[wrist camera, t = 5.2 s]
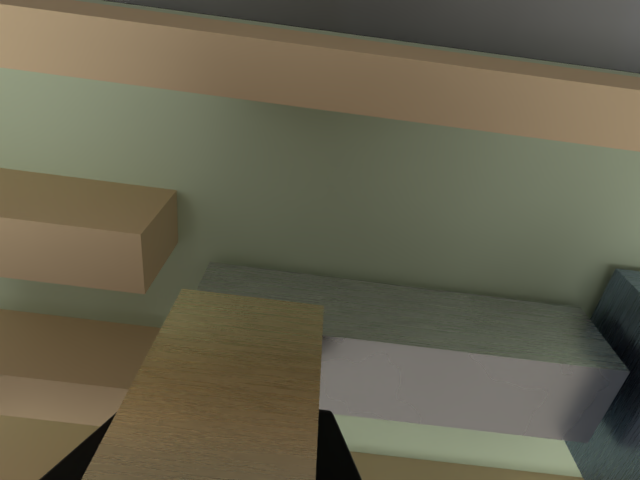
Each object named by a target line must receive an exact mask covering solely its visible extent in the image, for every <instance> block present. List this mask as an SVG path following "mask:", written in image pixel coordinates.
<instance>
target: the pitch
mask: <svg viewBox="0 0 640 480" xmlns="http://www.w3.org/2000/svg"><path fill="white" fill-rule="evenodd" d="M209 262H215V263H223V264H231V265H239V266H248V267H256V268H264V269H272V270H280V271H288V272H297V273H305V274H313V275H321V276H329V277H337V278H346V279H354V280H362V281H370V282H378V283H386V284H395V285H403V286H411V287H419V288H427V289H435V290H444V291H452V292H460V293H468V294H476V295H484V296H493V297H501V298H509V299H517V300H525V301H533V302H542V303H550V304H558V305H566V306H574V307H581V308H582V310H583V311H584V312H585V314H586V315H587V316H588V318H589V319H590V318H591V316H592V314H593V312H594V310H595V308H596V307H597V305H598V303H599V301H600V299H601V297H602V295H603V293H604V291H605V289H606V287H607V285H608V283H609V281H610V279H611V277H612V275H613V273H614V271H615V269H616V268H617V269H625V270H633V271H640V74H639V73H632V72H624V71H617V70H610V69H602V68H595V67H588V66H580V65H573V64H566V63H558V62H551V61H543V60H536V59H529V58H521V57H514V56H507V55H499V54H492V53H485V52H477V51H470V50H463V49H455V48H448V47H441V46H433V45H426V44H419V43H411V42H404V41H397V40H389V39H382V38H375V37H367V36H360V35H353V34H345V33H338V32H331V31H323V30H316V29H309V28H301V27H294V26H287V25H279V24H272V23H265V22H257V21H250V20H243V19H235V18H228V17H221V16H213V15H206V14H198V13H191V12H184V11H176V10H169V9H162V8H154V7H147V6H140V5H132V4H125V3H118V2H110V1H103V0H0V480H39V479H40V478H41V477H43V476H44V475H45V474H46V473H47V472H48V471H50V470H51V469H52V468H53V467H54V466H55V465H56V464H58V463H59V462H60V461H61V460H62V459H63V458H64V457H66V456H67V455H68V454H69V453H70V452H71V451H73V450H74V449H75V448H76V447H77V446H78V445H79V444H81V443H82V442H83V441H84V440H85V439H86V438H87V437H89V436H90V435H91V434H92V433H93V432H94V431H96V430H97V429H98V428H99V427H100V426H101V425H102V424H104V423H105V422H106V421H107V420H108V419H109V418H110V417H112V416H113V415H114V414H115V413H116V412H117V411H118V409H119V407H120V405H121V403H122V401H123V399H124V398H125V396H126V394H127V392H128V390H129V388H130V386H131V384H132V382H133V380H134V379H135V377H136V375H137V373H138V371H139V369H140V367H141V365H142V363H143V361H144V360H145V358H146V356H147V354H148V352H149V350H150V348H151V346H152V344H153V342H154V341H155V339H156V337H157V335H158V333H159V331H160V329H161V327H162V325H163V324H164V322H165V320H166V318H167V316H168V314H169V312H170V310H171V308H172V306H173V305H174V303H175V301H176V299H177V297H178V295H179V293H180V291H181V289H190V290H197V288H198V286H199V283H200V281H201V279H202V277H203V275H204V273H205V271H206V269H207V267H208V265H209ZM334 417H335V419H336V421H337V423H338V426H339V428H340V430H341V433H342V435H343V437H344V439H345V442H346V444H347V446H348V449H349V451H350V453H351V455H352V458H353V460H354V462H355V465H356V467H357V469H358V471H359V474H360V476H361V478H362V480H584V479H583V477H582V475H581V473H580V471H579V469H578V467H577V465H576V463H575V461H574V459H573V457H572V455H571V453H570V451H569V449H568V447H567V445H566V443H565V441H564V440H556V439H547V438H538V437H529V436H521V435H512V434H503V433H495V432H486V431H477V430H468V429H460V428H451V427H442V426H433V425H425V424H416V423H407V422H399V421H390V420H381V419H372V418H364V417H355V416H346V415H338V414H334Z"/></svg>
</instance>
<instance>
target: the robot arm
mask: <svg viewBox="0 0 640 480" xmlns="http://www.w3.org/2000/svg"><path fill="white" fill-rule="evenodd" d="M116 413H117V412H116ZM116 413H115V414H114V415H113V416H112V417H110V418H109V419H108V420H107V421H106V422H105V423H104V424H102V425H101V426H100V427H99V428H98V429H97V430H96V431H94V432H93V433H92V434H91V435H90V436H89V437H87V438H86V439H85V440H84V441H83V442H82V443H81V444H79V445H78V446H77V447H76V448H75V449H74V450H73V451H71V452H70V453H69V454H68V455H67V456H66V457H64V458H63V459H62V460H61V461H60V462H59V463H58V464H56V465H55V466H54V467H53V468H52V469H51V470H50V471H48V472H47V473H46V474H45V475H44V476H43V477H41V478H40V479H39V480H81V479H82V477H83V475H84V473H85V472H86V470H87V468H88V466H89V464H90V462H91V460H92V458H93V456H94V454H95V453H96V451H97V449H98V447H99V445H100V443H101V441H102V439H103V437H104V435H105V434H106V432H107V430H108V428H109V426H110V424H111V422H112V420H113V418H114V416H115V415H116ZM316 480H362V478H361V476H360V474H359V471H358V469H357V467H356V465H355V462H354V460H353V458H352V455H351V453H350V451H349V449H348V446H347V444H346V442H345V439H344V437H343V435H342V433H341V430H340V428H339V426H338V423H337V421H336V419H335V417H334V414H333V413H332V412H331V411H330V410H322V409H319V417H318V438H317V459H316Z"/></svg>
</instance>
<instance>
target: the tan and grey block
mask: <svg viewBox="0 0 640 480" xmlns="http://www.w3.org/2000/svg"><path fill="white" fill-rule="evenodd" d="M319 409H322V410H330V411H331V412H332V413H333V414H338V415H346V416H355V417H364V418H372V419H381V420H390V421H399V422H407V423H416V424H425V425H433V426H442V427H451V428H460V429H468V430H477V431H486V432H495V433H503V434H512V435H521V436H529V437H538V438H547V439H556V440H564V441H565V443H566V445H567V447H568V449H569V451H570V453H571V455H572V457H573V459H574V461H575V463H576V465H577V467H578V469H579V471H580V473H581V475H582V477H583V479H584V480H640V271H633V270H625V269H617V268H616V269H615V271H614V273H613V275H612V277H611V279H610V281H609V283H608V285H607V287H606V289H605V291H604V293H603V295H602V297H601V299H600V301H599V303H598V305H597V307H596V308H595V310H594V312H593V314H592V316H591V318H590V319H589V318H588V316H587V315H586V314H585V312H584V311H583V310H582V308H581V307H574V306H566V305H558V304H550V303H542V302H533V301H525V300H517V299H509V298H501V297H493V296H484V295H476V294H468V293H460V292H452V291H444V290H435V289H427V288H419V287H411V286H403V285H395V284H386V283H378V282H370V281H362V280H354V279H346V278H337V277H329V276H321V275H313V274H305V273H297V272H288V271H280V270H272V269H264V268H256V267H248V266H239V265H231V264H223V263H215V262H209V265H208V267H207V269H206V271H205V273H204V275H203V277H202V279H201V281H200V283H199V286H198V288H197V290H190V289H181V291H180V293H179V295H178V297H177V299H176V301H175V303H174V305H173V306H172V308H171V310H170V312H169V314H168V316H167V318H166V320H165V322H164V324H163V325H162V327H161V329H160V331H159V333H158V335H157V337H156V339H155V341H154V342H153V344H152V346H151V348H150V350H149V352H148V354H147V356H146V358H145V360H144V361H143V363H142V365H141V367H140V369H139V371H138V373H137V375H136V377H135V379H134V380H133V382H132V384H131V386H130V388H129V390H128V392H127V394H126V396H125V398H124V399H123V401H122V403H121V405H120V407H119V409H118V411H117V413H116V415H115V416H114V418H113V420H112V422H111V424H110V426H109V428H108V430H107V432H106V434H105V435H104V437H103V439H102V441H101V443H100V445H99V447H98V449H97V451H96V453H95V454H94V456H93V458H92V460H91V462H90V464H89V466H88V468H87V470H86V472H85V473H84V475H83V477H82V479H81V480H316V459H317V438H318V417H319Z"/></svg>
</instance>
